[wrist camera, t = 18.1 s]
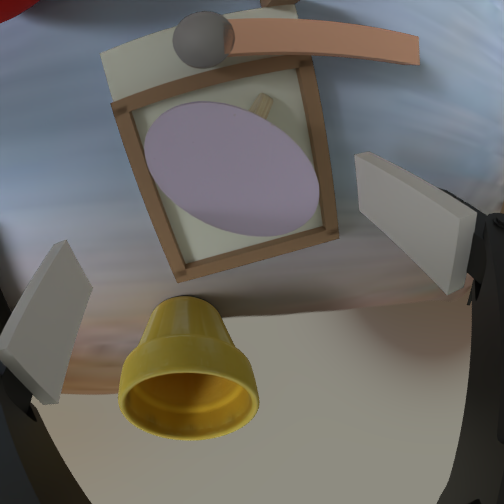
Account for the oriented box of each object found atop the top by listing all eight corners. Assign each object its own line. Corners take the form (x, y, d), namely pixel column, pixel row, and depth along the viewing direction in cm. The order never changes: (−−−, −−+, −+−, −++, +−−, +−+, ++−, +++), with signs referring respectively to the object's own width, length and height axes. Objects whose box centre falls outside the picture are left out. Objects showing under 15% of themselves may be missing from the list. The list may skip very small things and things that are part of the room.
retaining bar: (177, 72, 16) (174, 70, 14) (173, 22, 14) (170, 15, 12) (402, 72, 17) (419, 74, 15) (400, 30, 15) (417, 28, 14)
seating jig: (179, 272, 26) (176, 316, 21) (100, 42, 16) (71, 31, 11) (331, 230, 26) (359, 265, 21) (287, -5, 16) (313, -28, 11)
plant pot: (244, 354, 32) (260, 435, 23) (147, 363, 31) (141, 444, 22) (239, 271, 26) (259, 360, 18) (119, 283, 25) (94, 372, 17)
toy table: (130, 158, 19) (107, 184, 15) (218, 53, 17) (225, 41, 12) (238, 237, 24) (249, 282, 19) (323, 149, 21) (359, 171, 16)
